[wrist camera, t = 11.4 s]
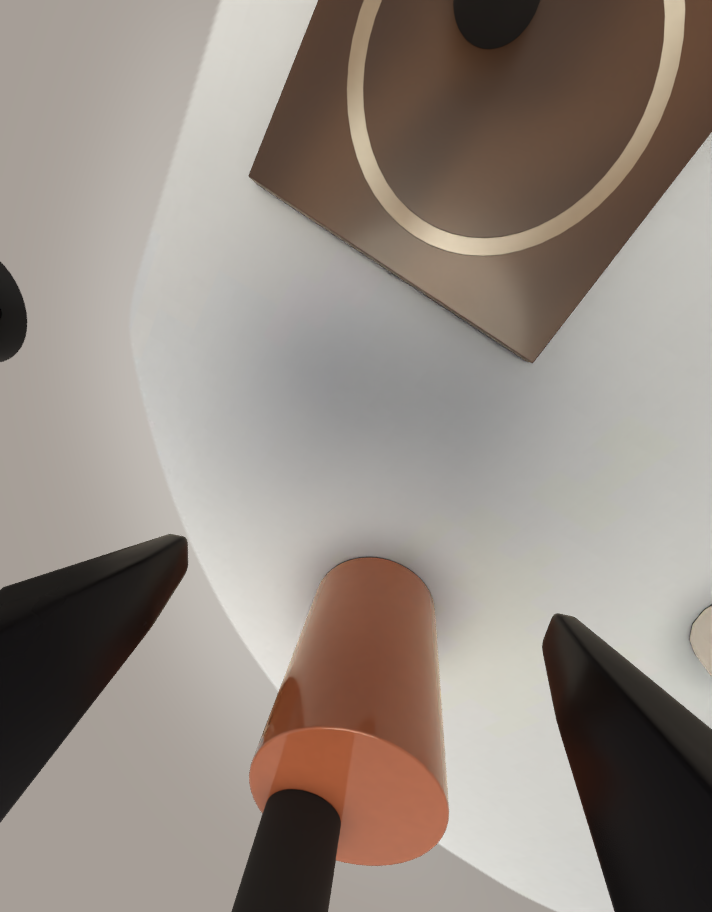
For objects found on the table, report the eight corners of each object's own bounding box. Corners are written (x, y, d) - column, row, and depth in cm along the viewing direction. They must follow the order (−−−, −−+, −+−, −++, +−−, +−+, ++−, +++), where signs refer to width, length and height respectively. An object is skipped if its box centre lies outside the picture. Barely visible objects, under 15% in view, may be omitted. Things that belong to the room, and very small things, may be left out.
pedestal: (292, 589, 26) (209, 764, 15) (389, 535, 23) (367, 699, 13) (360, 671, 27) (327, 881, 17) (458, 628, 24) (490, 843, 14)
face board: (256, 183, 18) (246, 174, 17) (453, -300, 13) (457, -362, 12) (526, 361, 19) (533, 363, 18) (824, -27, 13) (861, -60, 12)
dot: (250, 800, 16) (198, 949, 12) (308, 780, 15) (272, 935, 11) (297, 847, 16) (261, 1004, 12) (356, 831, 15) (337, 995, 11)
